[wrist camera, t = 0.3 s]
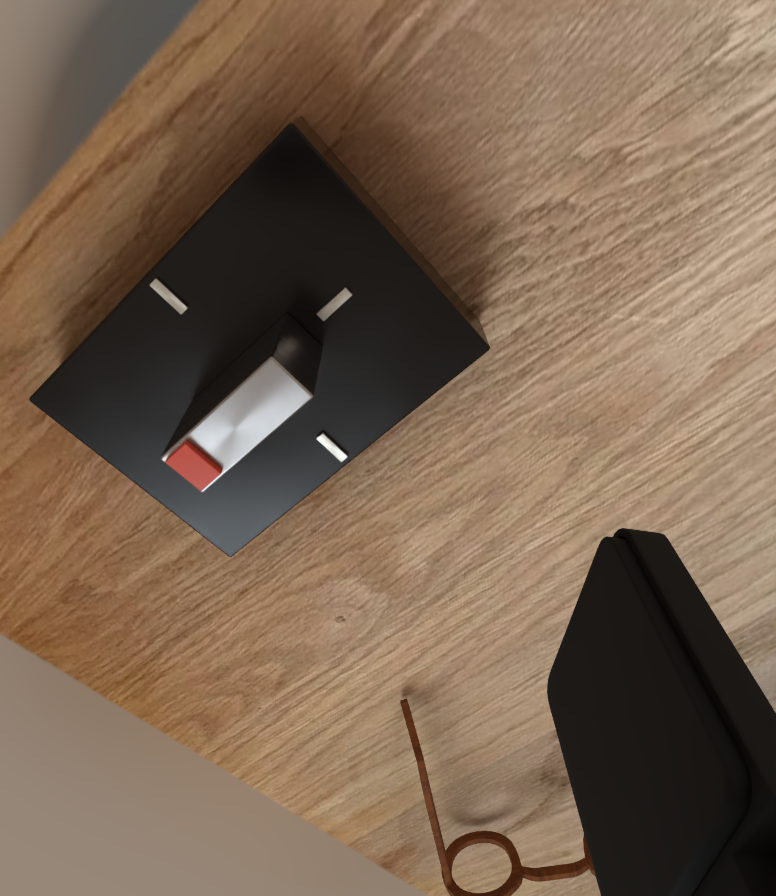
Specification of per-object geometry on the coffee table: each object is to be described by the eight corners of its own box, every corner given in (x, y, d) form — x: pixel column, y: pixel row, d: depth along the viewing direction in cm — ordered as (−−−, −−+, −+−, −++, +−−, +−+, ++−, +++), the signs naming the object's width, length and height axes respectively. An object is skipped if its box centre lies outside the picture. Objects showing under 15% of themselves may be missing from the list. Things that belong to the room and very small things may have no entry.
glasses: (440, 835, 44) (447, 920, 40) (398, 694, 38) (401, 777, 33) (650, 805, 43) (681, 890, 38) (643, 655, 37) (678, 735, 32)
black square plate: (300, 114, 24) (290, 121, 21) (480, 321, 28) (492, 350, 25) (59, 368, 28) (25, 402, 26) (242, 518, 32) (229, 560, 29)
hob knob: (287, 311, 24) (270, 359, 20) (324, 347, 25) (314, 400, 21) (189, 402, 26) (156, 462, 22) (226, 434, 26) (200, 498, 23)
